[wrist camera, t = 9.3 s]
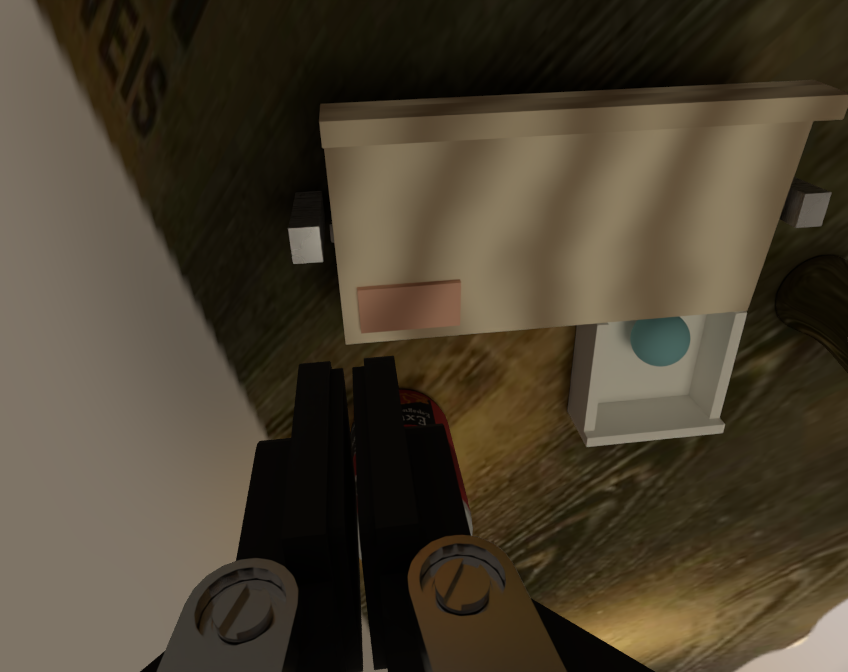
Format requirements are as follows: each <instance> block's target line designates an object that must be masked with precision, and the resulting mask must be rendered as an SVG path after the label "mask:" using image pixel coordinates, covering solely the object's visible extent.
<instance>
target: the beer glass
mask: <svg viewBox="0 0 848 672" xmlns="http://www.w3.org/2000/svg"><path fill="white" fill-rule="evenodd" d="M775 306H776V312H777V315H778V317H779V318H780V320H781V321H782V322H783V323H784V324H785V325H787V326H789V327H790V328H792V329H795V330H797V331H799V332H801V333H804V334H806V335H808V336H810V337H812V338H814V339H815V340H817V341H818V342H819V343H820V344H822V345H823V346H824V347H825V348H826V349H827V350H828V351H829V352H830V353H831V355H832V356H833V357H834V358H835V359H836V360H837V361H838V363H839V364H840V365H841V366H842V367H843V368H844V370H845V371H846V372H847V373H848V260H846V259H844V258H842V257H839V256H835V255H823V256H818V257H815V258H812V259H810V260H808V261H806V262H804V263H803V264H801V265H800V266H798V267H797V268H796V269H794V270H793V271H792V272H791V273H790V274H789V275H788V276H787V278H786V279H785V280H784V282H783V283H782V285H781V287H780V289H779V291H778V294H777V297H776V304H775Z"/></svg>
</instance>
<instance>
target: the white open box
mask: <svg viewBox="0 0 848 672" xmlns="http://www.w3.org/2000/svg"><path fill="white" fill-rule="evenodd" d="M746 315H747V312H746V311H738V312H726V313H714V314H702V315H690V316H679V317H680V318H682V319H683V320H684V322H685V323H686V325H687V326H688V329H689V331H690V345H689V348H688V351H687V352H686V354H685V355H684V356H683V358H681V359H680V360H679V361H678V362H676V363H674V364H672V365H668V366H662V367H659V366H652V365H649V364H647V363H645V362H643V361H642V360H641V359H639V358H638V357H637V355H636V354H635V353H634V351H633V349H632V346H631V341H630V335H631V331H632V328H633V326H634V324H635V323H636V321H637V320H631V321H619V322H607V323H595V324H583V325H577V328H576V337H575V346H574V355H573V364H572V373H571V383H570V392H569V401H568V410H567V412H568V413H569V415H570V417H571V419H572V421H573V423H574V425H575V426H576V428H577V430H578V432H579V434H580V436H581V438H582V439H583V441H584V443H585V445H586V447H591V446H600V445H610V444H620V443H630V442H639V441H649V440H659V439H668V438H678V437H688V436H698V435H707V434H717V433H723V430H724V427H725V424H724V423H723V421H722V420H721V419H720V414H721V410H722V406H723V402H724V399H725V395H726V391H727V387H728V383H729V380H730V376H731V372H732V368H733V365H734V361H735V357H736V353H737V349H738V346H739V342H740V338H741V334H742V330H743V327H744V323H745V319H746Z"/></svg>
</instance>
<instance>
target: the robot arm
mask: <svg viewBox="0 0 848 672" xmlns="http://www.w3.org/2000/svg"><path fill="white" fill-rule="evenodd" d="M352 370H353V397H354V425H355V452H356V480H357V492H356V480H355V471H354V462H353V453H352V444H351V435H350V426H349V417H348V408H347V398H346V389H345V380H344V372H343V368H339V369H332V367H331V362H330V361H327V362H316V363H304V364H299V369H298V378H297V388H296V397H295V407H294V417H293V426H292V436H291V438H286V439H276V440H265V441H259V443H258V444H257V447H256V452H255V458H254V463H253V468H252V474H251V480H250V486H249V491H248V496H247V502H246V508H245V514H244V519H243V525H242V530H241V536H240V542H239V547H238V553H237V558H236V561H235V562H232V563H230V564H227V565H224V566H222V567H220V568H219V569H217V570H216V571H214V572H212V573H211V574H209V575H207V576H206V577H205V578H204V579H203V580H202V581H201V582H200V583H199V584H198V585H197V586H196V587H195V588H194V590H193V591H192V593H191V595H190V596H189V598H188V599H187V601H186V603H185V605H184V607H183V610H182V612H181V614H180V617H179V619H178V622H177V624H176V626H175V629H174V631H173V633H172V636H171V638H170V641H169V643H168V645H167V648H166V650H165V651H164V652H163V653H162V654H161V655H160V656H158V657H157V658H156V659H155V660H154V661H152V662H151V663H150V664H149V665H148V666H146V667H145V668H144V669H143V670H142V671H140V672H362V671H363V652H362V624H361V596H360V569H359V541H358V526H359V539H360V549H361V558H362V567H363V575H364V584H365V593H366V602H367V611H368V620H369V628H370V637H371V646H372V654H373V663H374V670H378V669H386V668H388V672H655V671H653V670H651V669H650V668H648V667H646V666H645V665H643V664H641V663H639V662H638V661H636V660H634V659H633V658H631V657H629V656H628V655H626V654H624V653H623V652H621V651H619V650H618V649H616V648H614V647H612V646H611V645H609V644H607V643H606V642H604V641H602V640H601V639H599V638H597V637H596V636H594V635H592V634H590V633H589V632H587V631H585V630H584V629H582V628H580V627H579V626H577V625H575V624H574V623H572V622H570V621H568V620H567V619H565V618H563V617H562V616H560V615H558V614H557V613H555V612H553V611H552V610H550V609H548V608H546V607H545V606H543V605H541V604H540V603H538V602H536V601H535V600H533V599H531V598H530V596H529V594H528V592H527V590H526V588H525V586H524V584H523V582H522V580H521V578H520V576H519V574H518V572H517V570H516V568H515V566H514V564H513V563H512V561H511V560H510V559H509V557H508V556H507V554H506V553H505V552H504V551H503V550H501V549H500V548H499V547H497V546H496V545H495V544H494V543H492V542H489V541H487V540H485V539H482V538H480V537H476V536H471V533H470V529H469V525H468V521H467V517H466V513H465V509H464V504H463V500H462V496H461V492H460V488H459V484H458V480H457V475H456V471H455V467H454V463H453V459H452V455H451V450H450V446H449V442H448V438H447V434H446V430H445V427H444V425H443V423H440V424H430V425H420V426H410V427H404V420H403V414H402V407H401V400H400V394H399V387H398V380H397V374H396V367H395V360H394V356H385V357H373V358H364V366H362V367H353V368H352ZM357 507H358V513H357Z"/></svg>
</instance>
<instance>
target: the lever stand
mask: <svg viewBox="0 0 848 672" xmlns="http://www.w3.org/2000/svg"><path fill="white" fill-rule="evenodd" d="M831 193H832V192H829V191H827V190H825V189H822V188H820V187H817V186H815V185H813V184H810V183H808V182H805V181H803V180H801V179H798V178H796V177H794V178H793V180H792V183H791V186H790V189H789V192H788V195H787V198H786V201H785V203H784V206H783V209H782V212H781V215H780V218H779V219H780V220H782V221H784V222H786V223H788V224H789V225H791V226H793V227H795V228H800V227H814V226H821V225H822V222H823V219H824V216H825V212H826V209H827V206H828V203H829V199H830V196H831ZM288 231H289V238H290V245H291V252H292V258H293V264H299V263H313V262H323V254H324V236H325V214H324V205H323V197H322V191H309V192H296V194H295V198H294V203H293V208H292V213H291V218H290V222H289V227H288Z"/></svg>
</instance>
